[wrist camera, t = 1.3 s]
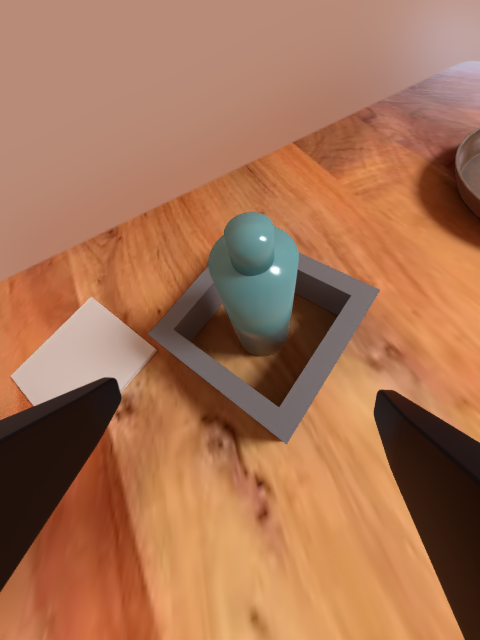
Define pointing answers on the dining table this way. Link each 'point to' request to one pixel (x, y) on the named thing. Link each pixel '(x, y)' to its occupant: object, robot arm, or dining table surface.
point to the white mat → (83, 355)
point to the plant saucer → (469, 171)
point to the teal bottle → (256, 281)
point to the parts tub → (350, 307)
